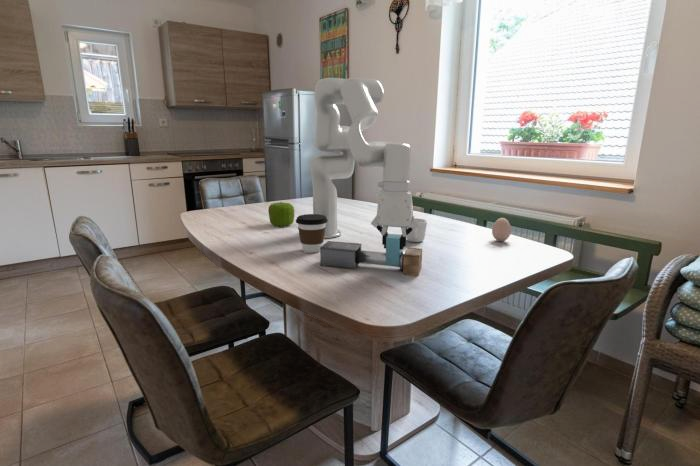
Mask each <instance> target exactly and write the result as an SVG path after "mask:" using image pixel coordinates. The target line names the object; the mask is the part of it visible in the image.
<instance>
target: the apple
mask: <svg viewBox="0 0 700 466" xmlns="http://www.w3.org/2000/svg"><path fill="white" fill-rule="evenodd" d="M267 212H268V216H269V217H268V218H269V223H270V224H271V225H272V226H274V227H276V226H278V227H277V228H285V227H284V226H286V227H289V226H290V225H292V224H294V221H295V208H294V206H293V205H292V204H291V203H289V202H282V201H279V202H274V203H270V205H269V206H268V211H267Z"/></svg>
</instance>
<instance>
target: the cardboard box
mask: <svg viewBox="0 0 700 466" xmlns="http://www.w3.org/2000/svg"><path fill="white" fill-rule="evenodd" d="M422 261H423V248H417V247H407V248H406V249H405V253H404V260H403V270H402V274H403V275H406V276H416V277H419V276H420V273H421V270H422V265H423V264H422V263H423V262H422Z"/></svg>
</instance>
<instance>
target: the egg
mask: <svg viewBox="0 0 700 466" xmlns="http://www.w3.org/2000/svg"><path fill="white" fill-rule="evenodd" d="M511 227H512V226H511V224H510V222H509V220H508V219H506V218H505V217H499V218H497V220H496V221H495V222H494V223H493V225H492V229H491V234H492V237H493V239H494V240H496V241H497V242H499V243H500V242H501V243H502V242H505V241H507V240H508V239H509V237H510V236H511V232H512V229H511Z"/></svg>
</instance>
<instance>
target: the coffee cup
mask: <svg viewBox="0 0 700 466" xmlns="http://www.w3.org/2000/svg"><path fill="white" fill-rule="evenodd" d="M327 222H328V219H327V218H326V216H324V215H320V214H313V213H308V214H306V213H305V214H300V215H298V216H297V217H296V219H295V223H296V224H297V227H298V233H299V238H300V243H301V247H302V250H303V252H305V253H308V254H315V253H320V247H321V246H323V245H324V240H325V238H324V235H325V228H326V226H325V225H326V223H327Z"/></svg>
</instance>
